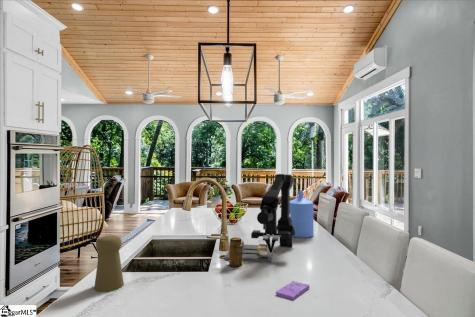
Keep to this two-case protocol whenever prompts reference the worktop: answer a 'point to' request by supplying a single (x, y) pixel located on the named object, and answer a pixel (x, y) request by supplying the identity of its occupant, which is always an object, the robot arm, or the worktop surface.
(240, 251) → the condiment
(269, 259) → the panel
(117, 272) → the cork
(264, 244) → the slider
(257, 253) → the slider
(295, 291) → the sponges
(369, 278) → the worktop surface
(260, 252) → the button
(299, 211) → the water jug
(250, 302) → the worktop surface
